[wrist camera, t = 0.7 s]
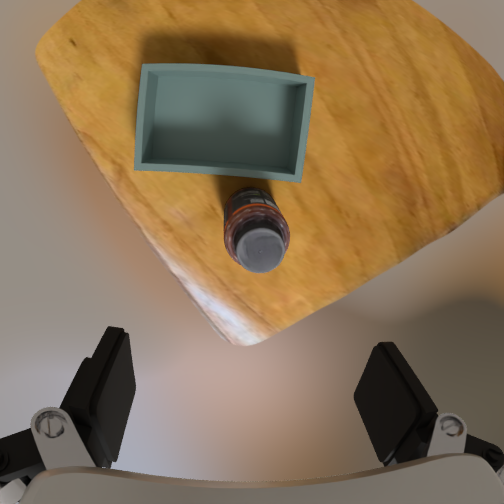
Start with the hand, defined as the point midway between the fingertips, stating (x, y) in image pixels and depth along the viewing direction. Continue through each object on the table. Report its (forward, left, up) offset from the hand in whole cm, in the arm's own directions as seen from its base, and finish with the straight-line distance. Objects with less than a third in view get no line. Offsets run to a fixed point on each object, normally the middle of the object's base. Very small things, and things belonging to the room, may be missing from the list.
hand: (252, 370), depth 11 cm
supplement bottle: (+2, +2, -26) cm, 26 cm away
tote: (-8, -2, -26) cm, 27 cm away
